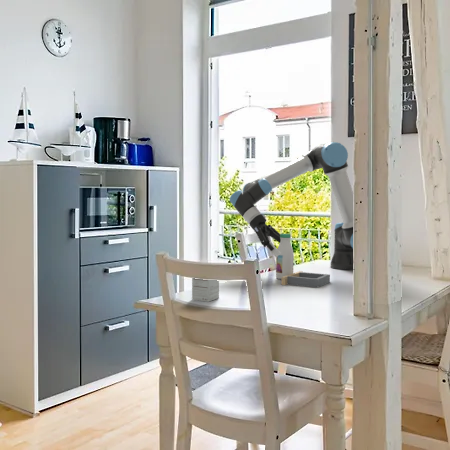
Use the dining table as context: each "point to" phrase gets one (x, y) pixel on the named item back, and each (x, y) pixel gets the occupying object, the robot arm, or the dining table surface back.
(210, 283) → the supplement box
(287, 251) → the milk bottle
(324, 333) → the dining table surface
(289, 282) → the tray
